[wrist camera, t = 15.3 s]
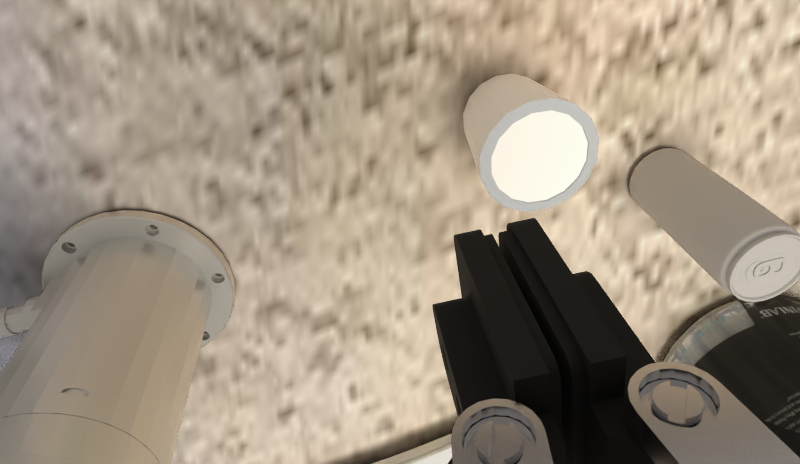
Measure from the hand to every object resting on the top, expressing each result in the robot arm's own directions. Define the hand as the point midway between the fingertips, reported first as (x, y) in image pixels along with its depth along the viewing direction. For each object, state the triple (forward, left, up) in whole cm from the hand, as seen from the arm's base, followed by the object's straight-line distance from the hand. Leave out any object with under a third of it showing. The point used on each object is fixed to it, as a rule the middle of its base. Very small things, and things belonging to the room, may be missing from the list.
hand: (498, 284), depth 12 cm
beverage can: (+18, -14, -25) cm, 34 cm away
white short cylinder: (+7, -7, -25) cm, 27 cm away
